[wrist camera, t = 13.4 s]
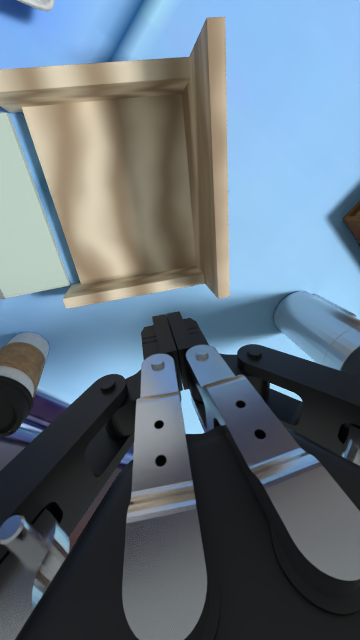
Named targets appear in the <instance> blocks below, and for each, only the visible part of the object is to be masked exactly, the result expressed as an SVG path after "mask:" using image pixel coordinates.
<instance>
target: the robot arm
mask: <svg viewBox="0 0 360 640" xmlns="http://www.w3.org/2000/svg"><path fill="white" fill-rule="evenodd" d="M152 318H153V323H154V325H153V326H148V327H144V329H143V331H142V332H141V337H142V347H143V356H144V361H143V363H142V366H141V370H140V371H139V372H138V373H136V374H135V375H133V376H131V377H129V378H127V379H125V378H124V377H123V376H121V375H118V374H110V375H106V376H104V377H102V378H100V379H98V380H97V381H96V382H94V383H93V384H92V385H91V386H90V387H89V388H88V389H87V390H86V391H85V392H84V393H83V394H82V395H81V396H80V397H79V398H77V399H76V400H75V401H74V402H73V403H72V404H71V405H70V406H69V407H68V408H67V409H66V410H65V411H64V412H63V413H62V414H60V415H59V416H58V417H57V418H56V419H55V420H54V421H53V422H52V423H51V424H50V425H49V426H48V427H47V428H46V429H45V430H44V431H42V432H41V433H40V434H39V435H38V436H37V437H36V438H35V439H34V440H33V441H32V442H31V443H30V444H29V445H28V446H27V447H25V448H24V449H23V450H22V451H21V452H20V453H19V454H18V455H17V456H16V457H15V458H14V459H13V460H12V461H11V462H10V463H8V464H7V465H6V466H5V467H4V468H3V469H2V470H1V471H0V640H360V320H358V319H357V318H356V315H355V314H353V313H351V312H349V311H347V310H345V309H343V308H342V307H340V306H338V305H336V304H334V303H332V302H330V301H328V300H326V299H324V298H322V297H320V296H319V295H312V294H310V293H308V292H305V291H298V292H294V293H292V294H290V295H288V296H287V297H285V298H284V299H283V300H282V301H281V302H280V303H279V305H278V306H277V308H276V310H275V313H274V323H275V325H276V327H277V328H278V329H279V330H280V331H281V332H283V333H284V334H285V335H286V336H287V337H288V338H289V339H290V340H291V341H293V342H294V343H295V344H296V345H297V346H298V347H299V348H300V349H302V350H303V351H304V352H305V353H306V354H307V355H308V356H310V357H311V358H312V359H313V360H314V361H315V362H316V363H315V362H311V361H308V360H305V359H302V358H299V357H296V356H293V355H289V354H286V353H283V352H280V351H277V350H274V349H271V348H267V347H264V346H261V345H256V344H250V345H245V346H243V347H241V348H240V349H239V350H238V353H237V355H225V354H219V353H218V351H217V350H216V349H215V348H214V347H212V346H209V344H208V343H207V341H206V339H205V337H204V335H203V334H202V332H201V330H200V328H199V326H198V324H197V323H196V321H194V320H192V319H191V318H188V319H182V317H181V315H180V312H174V313H168V314H166V315H165V314H164V315H158V316H153V317H152ZM270 383H272V384H274V385H277V386H279V387H282V388H284V389H287V390H289V391H292V392H294V393H296V394H297V395H299V396H300V398H301V399H302V401H303V402H301V401H299V400H296V399H294V398H291V397H289V396H287V395H284V394H282V393H280V392H277V391H275V390H273V389H270V388H269V387H270ZM182 384H183V387H184V390H186V389H190V392H191V399H192V403H193V406H194V408H195V411H196V413H197V415H198V418H199V420H200V423H201V425H202V427H203V430H204V432H205V433H203V434H186V433H185V427H184V421H183V415H182V408H181V393H180V391H182V390H183V388H182ZM103 426H104V427H103ZM102 427H103V428H102ZM97 433H98V434H97ZM92 439H93V440H92ZM91 440H92V441H91ZM133 442H134V454H133V460H132V461H130V462H129V463H128V464H127V465H126V466H125V467H124V468H123V469H122V471H121V472H120V473H119V475H118V476H117V477H116V479H115V481H114V482H113V483H112V485H111V487H110V488H109V490H108V492H107V493H106V495H105V496H104V498H103V499H102V501H101V503H100V504H99V506H98V507H97V509H96V511H95V512H94V514H93V516H92V517H91V519H90V520H89V522H88V524H87V525H86V527H85V528H84V530H83V531H82V533H81V535H80V536H79V538H78V539H77V541H76V543H75V544H74V546H73V547H72V549H71V551H70V552H69V536H70V534H71V533H72V531H73V530H74V528H75V527H76V525H77V524H78V523H79V521H80V520H81V518H82V517H83V515H84V514H85V512H86V511H87V510H88V508H89V506H90V505H91V503H92V502H93V501H94V499H95V498H96V496H97V495H98V493H99V492H100V491H101V489H102V488H103V486H104V485H105V483H106V482H107V480H108V479H109V477H110V476H111V474H112V473H113V472H114V470H115V469H116V467H117V466H118V464H119V463H120V461H121V460H122V458H123V457H124V456H125V454H126V453H127V451H128V450H129V448H130V447H131V445H132V444H133ZM68 553H69V554H68Z"/></svg>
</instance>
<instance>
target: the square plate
mask: <svg viewBox="0 0 360 640" xmlns="http://www.w3.org/2000/svg"><path fill="white" fill-rule="evenodd" d="M17 1H19V2H21V3H24V4H26V5H29V6H31V7H34V8H36V9H39V10H42V11H50V10H51V9H52V7H53V5H54V0H17Z"/></svg>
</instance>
